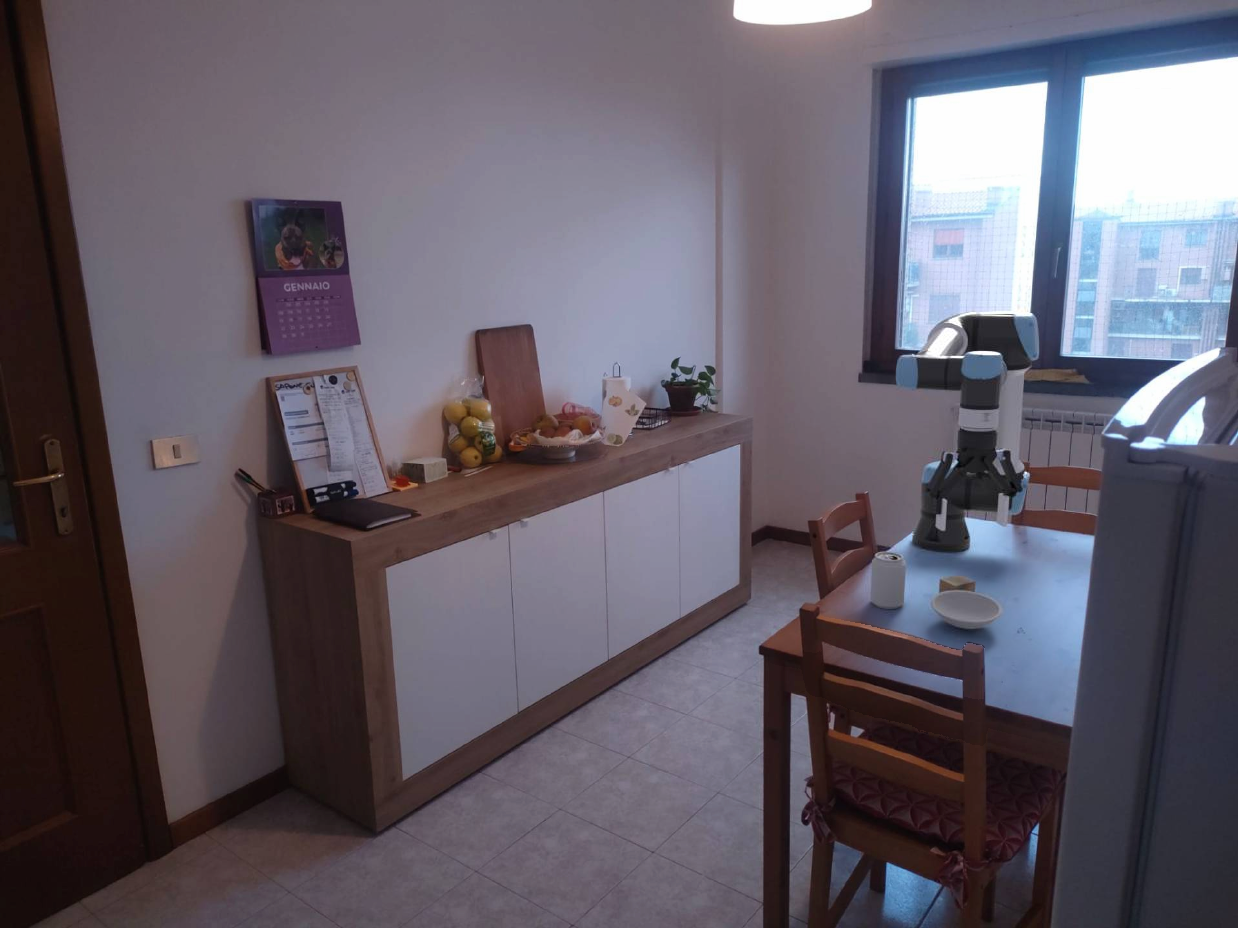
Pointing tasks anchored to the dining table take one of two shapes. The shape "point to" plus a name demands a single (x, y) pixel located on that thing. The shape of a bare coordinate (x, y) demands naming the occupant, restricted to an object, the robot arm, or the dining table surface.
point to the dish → (966, 608)
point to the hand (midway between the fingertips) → (971, 526)
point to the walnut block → (956, 584)
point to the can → (888, 580)
